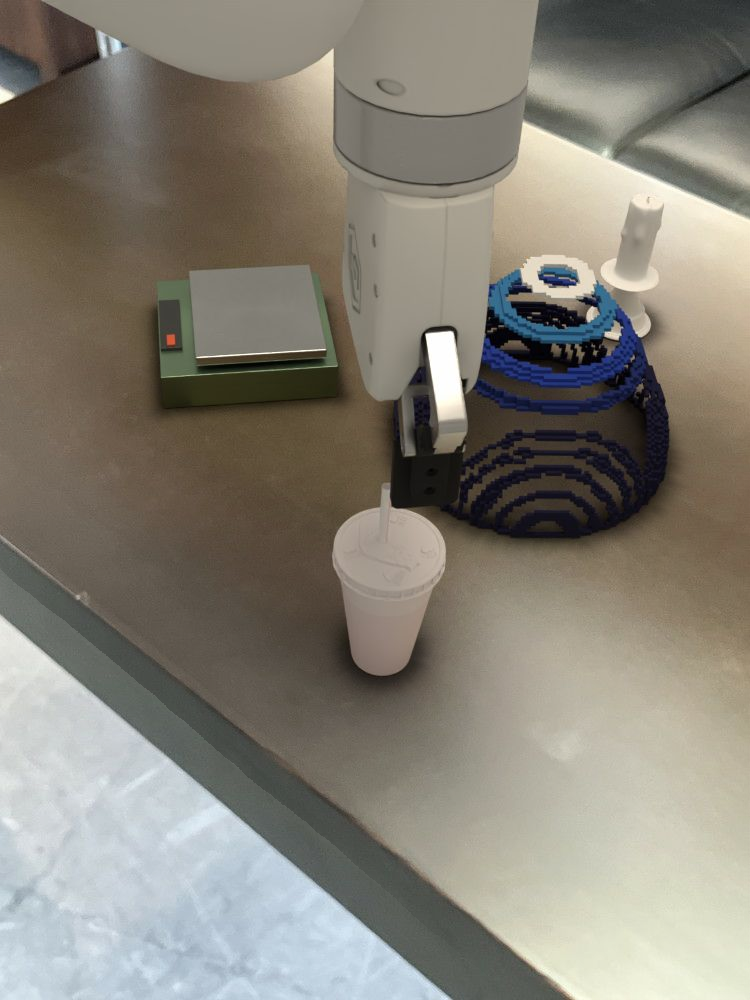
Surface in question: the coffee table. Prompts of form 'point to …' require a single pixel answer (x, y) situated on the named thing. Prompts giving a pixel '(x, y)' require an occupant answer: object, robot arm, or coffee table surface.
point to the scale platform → (255, 315)
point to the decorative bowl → (585, 375)
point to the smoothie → (386, 581)
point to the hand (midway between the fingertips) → (405, 432)
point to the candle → (633, 264)
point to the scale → (236, 380)
